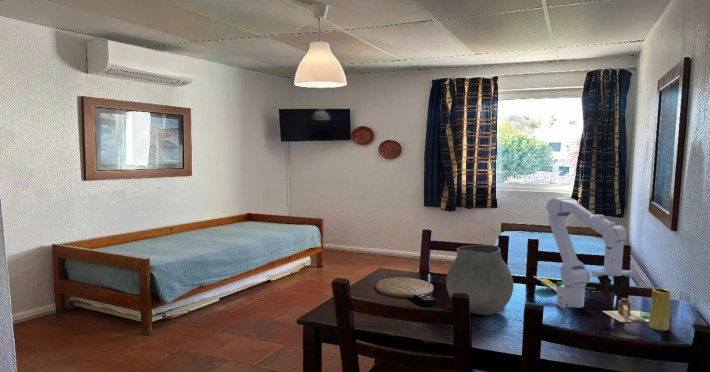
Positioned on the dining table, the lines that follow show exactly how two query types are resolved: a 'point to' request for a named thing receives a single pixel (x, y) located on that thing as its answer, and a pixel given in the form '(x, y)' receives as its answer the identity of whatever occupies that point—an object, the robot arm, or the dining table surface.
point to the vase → (660, 309)
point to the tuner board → (630, 316)
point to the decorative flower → (554, 284)
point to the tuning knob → (624, 306)
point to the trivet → (404, 287)
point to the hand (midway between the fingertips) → (611, 295)
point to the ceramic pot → (481, 278)
